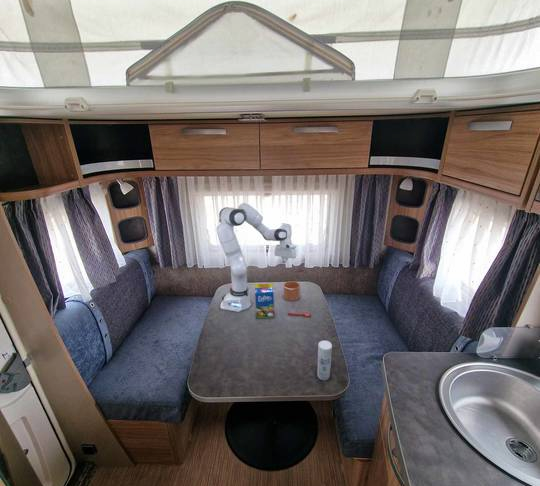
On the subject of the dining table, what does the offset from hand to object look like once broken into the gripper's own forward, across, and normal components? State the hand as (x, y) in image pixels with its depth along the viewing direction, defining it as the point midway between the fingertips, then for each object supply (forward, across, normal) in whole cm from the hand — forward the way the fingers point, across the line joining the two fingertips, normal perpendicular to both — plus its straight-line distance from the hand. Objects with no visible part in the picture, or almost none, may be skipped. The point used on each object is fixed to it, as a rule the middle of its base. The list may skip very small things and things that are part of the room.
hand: (284, 263), depth 217 cm
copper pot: (+25, +7, +2) cm, 26 cm away
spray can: (+37, +72, -43) cm, 92 cm away
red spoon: (+32, +27, -11) cm, 43 cm away
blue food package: (+34, +11, -28) cm, 45 cm away
